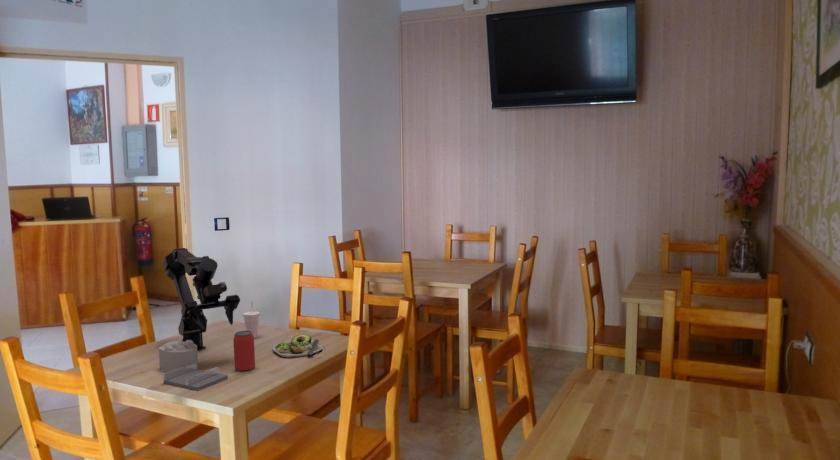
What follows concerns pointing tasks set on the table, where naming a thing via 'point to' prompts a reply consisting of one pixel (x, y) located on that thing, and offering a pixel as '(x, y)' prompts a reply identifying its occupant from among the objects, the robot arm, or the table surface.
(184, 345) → the paw print puck
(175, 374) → the rail board
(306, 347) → the salad plate
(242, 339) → the beer can
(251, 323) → the smoothie
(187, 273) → the robot arm
